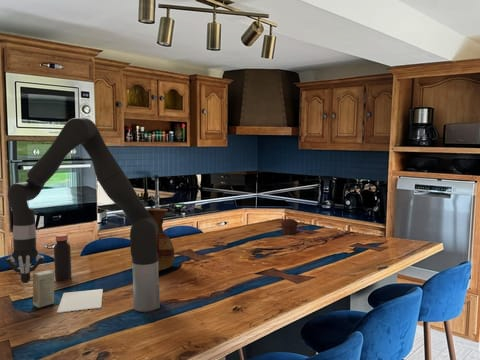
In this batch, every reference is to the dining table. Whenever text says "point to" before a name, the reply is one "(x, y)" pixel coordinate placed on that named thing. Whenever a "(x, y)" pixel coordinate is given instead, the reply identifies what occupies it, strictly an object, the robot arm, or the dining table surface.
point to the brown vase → (162, 241)
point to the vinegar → (62, 258)
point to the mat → (80, 300)
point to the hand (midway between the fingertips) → (25, 282)
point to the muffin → (289, 226)
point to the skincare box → (43, 288)
